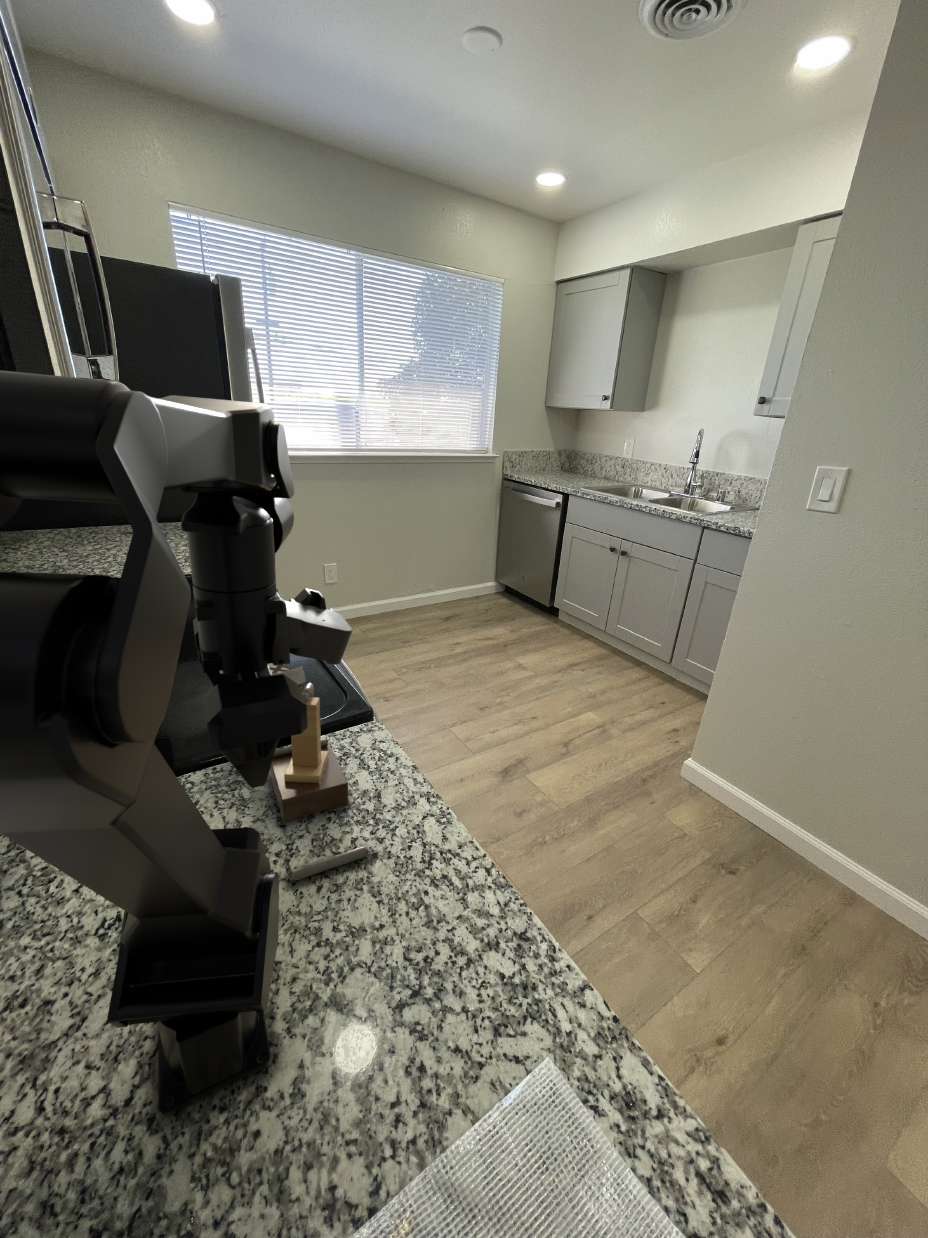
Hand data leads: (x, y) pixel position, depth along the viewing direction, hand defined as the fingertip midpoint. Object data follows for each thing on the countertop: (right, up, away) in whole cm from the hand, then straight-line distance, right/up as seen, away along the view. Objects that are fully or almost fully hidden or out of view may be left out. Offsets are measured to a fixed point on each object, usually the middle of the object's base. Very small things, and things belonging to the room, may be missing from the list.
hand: (250, 752), depth 44 cm
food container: (-10, -3, +25) cm, 27 cm away
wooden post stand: (+1, -5, +13) cm, 15 cm away
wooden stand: (+2, -10, +11) cm, 15 cm away
